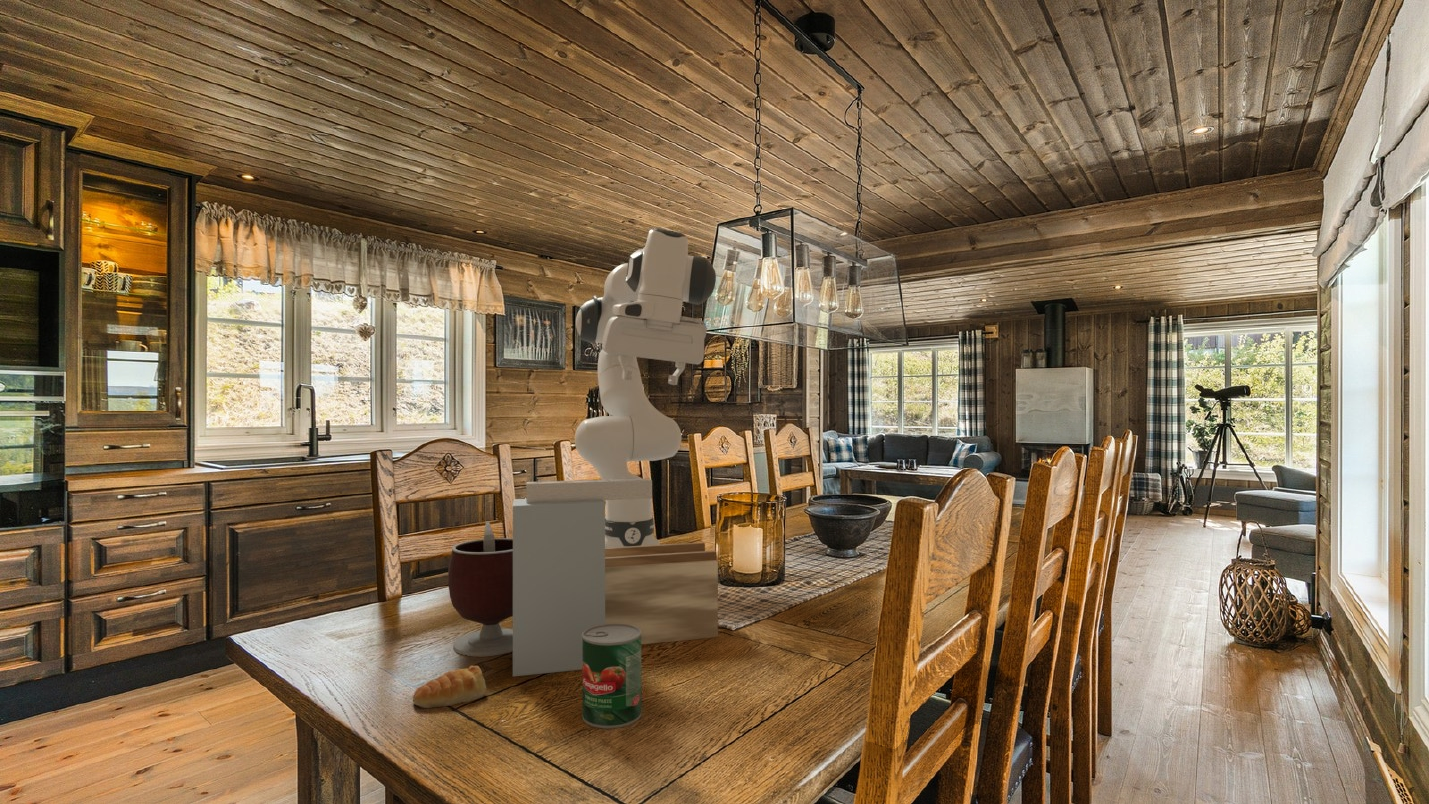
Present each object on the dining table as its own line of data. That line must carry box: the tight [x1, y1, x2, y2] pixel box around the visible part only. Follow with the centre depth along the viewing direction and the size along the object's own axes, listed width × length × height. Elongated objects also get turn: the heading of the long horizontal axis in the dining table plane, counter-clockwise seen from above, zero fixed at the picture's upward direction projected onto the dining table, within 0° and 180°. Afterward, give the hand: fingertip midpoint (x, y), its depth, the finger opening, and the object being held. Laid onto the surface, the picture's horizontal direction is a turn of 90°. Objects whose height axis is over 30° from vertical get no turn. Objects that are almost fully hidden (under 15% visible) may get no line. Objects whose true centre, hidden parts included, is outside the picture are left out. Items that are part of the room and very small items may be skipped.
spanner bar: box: [525, 478, 653, 503], centre depth 110 cm, size 3×20×3 cm, turn 106°
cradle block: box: [605, 541, 719, 645], centre depth 123 cm, size 11×23×15 cm, turn 106°
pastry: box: [412, 665, 487, 709], centre depth 96 cm, size 9×7×4 cm
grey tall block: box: [512, 498, 606, 677], centre depth 109 cm, size 8×14×26 cm, turn 106°
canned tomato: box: [581, 623, 643, 730], centre depth 90 cm, size 8×8×11 cm
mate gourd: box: [447, 520, 513, 658], centre depth 118 cm, size 16×14×20 cm
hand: (649, 382), depth 134 cm, fingers open, 8 cm apart
